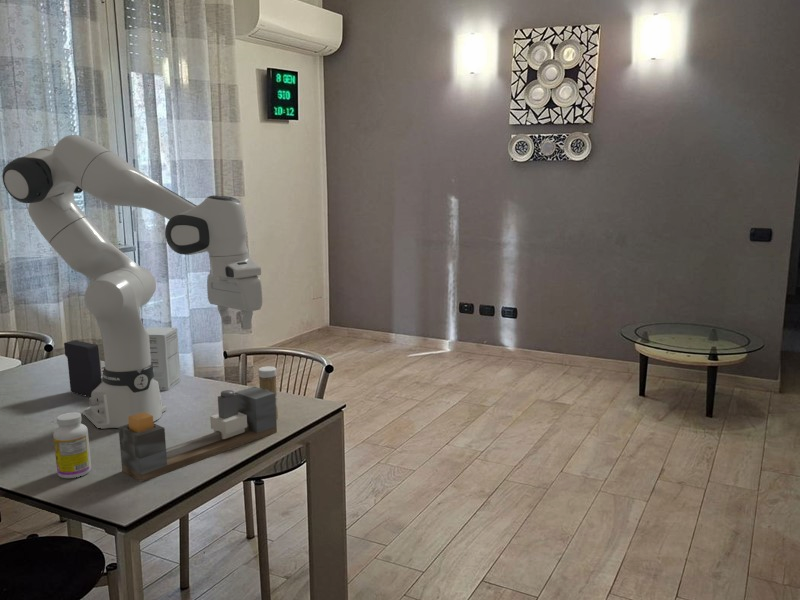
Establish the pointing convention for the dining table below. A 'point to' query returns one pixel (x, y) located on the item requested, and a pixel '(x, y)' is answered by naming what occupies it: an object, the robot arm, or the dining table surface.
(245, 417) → the carriage
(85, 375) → the black rectangular box
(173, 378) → the supplement box
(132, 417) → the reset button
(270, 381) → the sprinkles bottle
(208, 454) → the rail frame
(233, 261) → the robot arm
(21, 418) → the dining table surface
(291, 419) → the dining table surface
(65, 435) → the supplement bottle
